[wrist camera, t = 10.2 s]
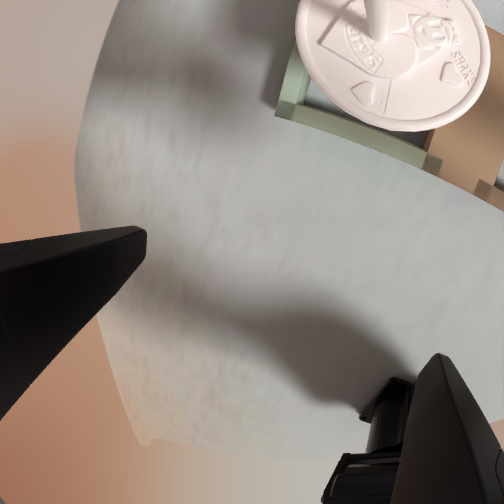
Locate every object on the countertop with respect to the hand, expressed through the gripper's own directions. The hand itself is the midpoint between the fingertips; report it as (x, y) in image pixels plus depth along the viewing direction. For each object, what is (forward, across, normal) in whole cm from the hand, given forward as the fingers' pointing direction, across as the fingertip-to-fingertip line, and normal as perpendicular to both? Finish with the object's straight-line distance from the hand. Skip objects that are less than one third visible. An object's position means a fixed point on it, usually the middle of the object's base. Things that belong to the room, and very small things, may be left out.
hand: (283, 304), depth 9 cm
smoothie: (+13, 0, -8) cm, 15 cm away
